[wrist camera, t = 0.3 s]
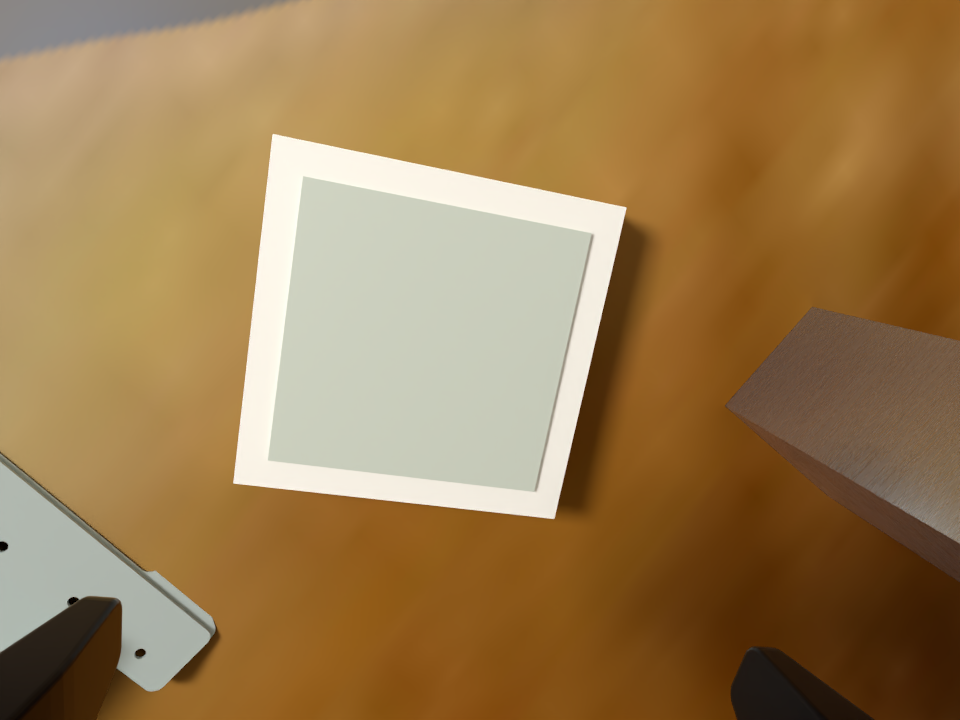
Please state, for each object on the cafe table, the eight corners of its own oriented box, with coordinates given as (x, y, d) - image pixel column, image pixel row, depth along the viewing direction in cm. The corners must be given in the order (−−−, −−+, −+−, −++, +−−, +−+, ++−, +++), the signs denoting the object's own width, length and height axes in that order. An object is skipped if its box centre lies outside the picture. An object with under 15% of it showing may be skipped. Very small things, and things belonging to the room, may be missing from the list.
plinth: (541, 494, 24) (555, 520, 22) (247, 459, 22) (232, 485, 20) (605, 207, 22) (628, 207, 20) (284, 141, 20) (271, 133, 18)
